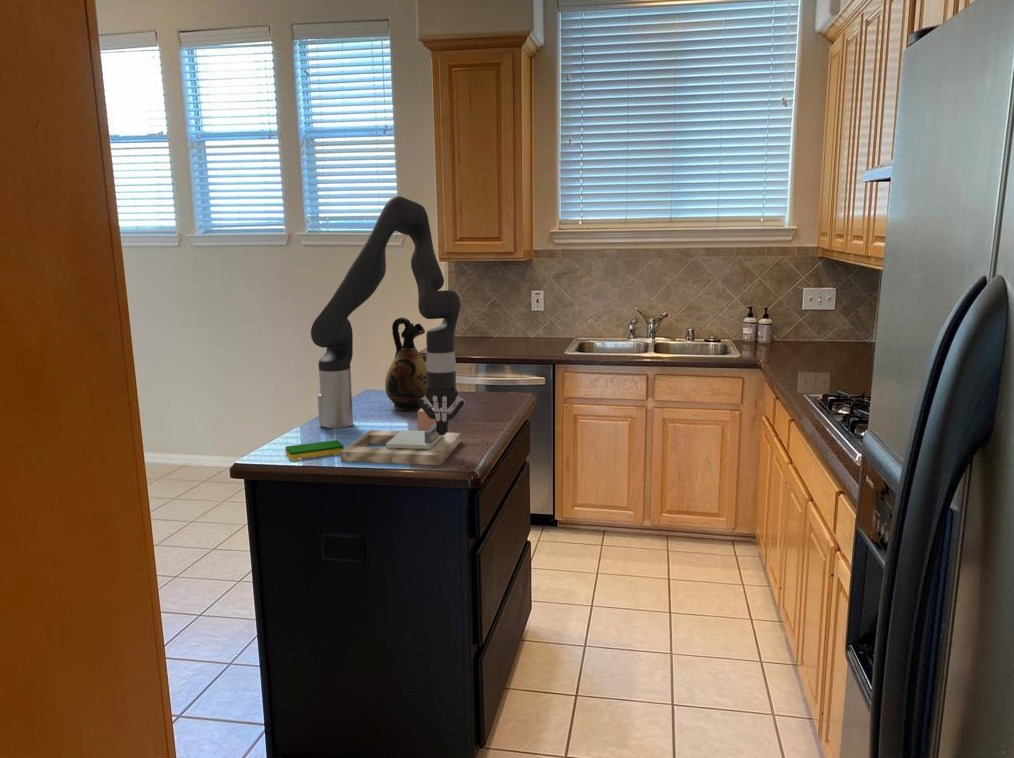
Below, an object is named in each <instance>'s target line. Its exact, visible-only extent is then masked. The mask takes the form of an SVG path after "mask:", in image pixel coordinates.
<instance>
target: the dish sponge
mask: <svg viewBox="0 0 1014 758" xmlns="http://www.w3.org/2000/svg"><path fill="white" fill-rule="evenodd" d="M344 448H345V445H344V444H342V443H341V442H340V441H339V440H337V439H334V440H327V441H326V440H325V441H319V442H309V443H302V444H294V445H287V446H285V455H286V454H287V455H288V456H289V457H288V456H287V455H286V456H287V457H288V459H289V458H290V459H297V460H299V459H298V458H305V459H308V458H307V457H312V458H314V457H313V456H319V457H322V456H321V455H327V456H330V455H329V454H334V455H339V454H338V453H340V451H342V450H343V449H344ZM290 459H289V460H290Z"/></svg>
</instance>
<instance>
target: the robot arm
mask: <svg viewBox="0 0 1014 758" xmlns="http://www.w3.org/2000/svg"><path fill="white" fill-rule="evenodd" d="M395 232H398V233H400V234H403V235H404V236H405V235H406V236H409V238H410V239H411V241H412V243H413V245H414V250H413V253H412V255H411V258H410V259H411V260H410V266H411V270H412V274H413V276H414V279H415V283H416V286H417V294H418V305H417V306H418V311H419V313H420V315H421V316H422V317H423V318H424V319H426V320H436V319H437V320H439V319H440V320H441V319H442V322H441V324H439V325H438V326H436V327H433V328H432V327H431V328H430V329H428V330H427V332H426V339H425V340H426V357H425V359H426V360H425V363H426V377H427V390H426V392H425V396H424V397H423V398H421V399H419V400H418V401H417V402H418V404H419V405H420V407H421V408H422V409H423V410H424V412H425V413H426V414H427V415H428V417H429V418H430V419H434V420H436V431H437V433H439V435H445V434H446V433H449V420H453V419H454V418H455V417H456V416H457V414H458V413H459V412H460V411H461V409H462V408H463V407H464V406H465V404H466V403H467V399H465V398H462V397H460V395H459V393H458V390H457V375H456V374H457V372H456V371H457V363H456V362H457V361H456V355H455V332H456V328H457V327H456V326H457V322H458V319H459V315H460V310H461V300H460V296H459V295H458V293H457V292H456V291H454V290H452V289H451V290H447V289H446V290H441V289H442V288H443V286H444V284H445V277H444V274H443V272H442V269H441V267H440V265H439V262H438V259H437V256H436V253H435V249H434V244H433V238H432V232H431V227H430V222H429V217H428V214H427V211H426V209H425V207H424V206H423V205H422V204H421V203H419V202H416V201H414V200H412V199H409V198H407V197H403V196H401V195H394V196H392V197H391V198H389V200H388V201H387V202H386V204H385V205H384V206H383V208H382V210H381V213H380V214H379V216H378V218H377V220H376V223H375V225H374V227H373V229H372V231H371V233H370V235H369V236H368V238H367V240H366V242H365V243H364V245H363V247H362V249H361V250H360V252H359V253H358V255H357V257H356V258H355V260H354V261H353V262H352V264H351V266H350V268H349V269H348V271H347V272H346V274H345V276H344V277H343V280H342V281H341V283H340V284H339V286H338V287H337V289H336V291H335V292H334V294H333V296H332V298H331V299H330V300H329V302H328V303H327V304H326V306H324V308H323V309H322V310H321V312H320V313H319V314H318V316H316V318H315V320H313V323H312V325H311V329H310V338H311V341H312V342H313V343H314V345H315V346H318V347H320V348H326V351H325V352H324V354H323V356H322V357H321V358H320V359H319V360H318V377H319V394H318V395H317V405H318V406H317V407H318V426H319V427H320V426H322V428H325V427H326V428H327V429H342V428H343V429H344V428H348V427H350V426H351V427H352V426H353V425H354V415H353V414H354V413H353V412H354V411H353V394H352V393H353V392H352V391H353V390H352V389H353V388H352V375H351V374H352V372H351V362H352V359H353V353H354V352H353V351H354V349H353V346H354V345H353V344H354V343H353V342H354V340H353V336H354V335H353V327H352V323H351V322H350V319H348V318H349V316H350V315H351V314H352V313H353V312H355V310H356V309H358V308H359V307H360V306H361V305H362V304H365V302H366V301H367V300H369V298H371V297H372V295H373V294H374V293H375V292H376V291H377V289H378V287H379V285H381V282H382V281H383V279H384V278H385V274H386V271H387V262H386V258H387V257H386V248H387V245H388V243H389V242H390V239H391V237H392V235H393V234H394V233H395ZM454 402H455V405H456V406H455V407H454V409H452V411H451V412H450V408H451V406H452V405H453V404H454ZM429 403H430V404H431V406H432V407H431V406H430V404H429ZM432 408H434V411H433V410H432Z"/></svg>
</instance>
